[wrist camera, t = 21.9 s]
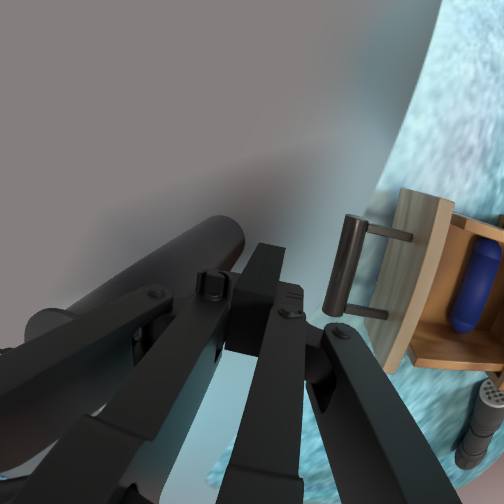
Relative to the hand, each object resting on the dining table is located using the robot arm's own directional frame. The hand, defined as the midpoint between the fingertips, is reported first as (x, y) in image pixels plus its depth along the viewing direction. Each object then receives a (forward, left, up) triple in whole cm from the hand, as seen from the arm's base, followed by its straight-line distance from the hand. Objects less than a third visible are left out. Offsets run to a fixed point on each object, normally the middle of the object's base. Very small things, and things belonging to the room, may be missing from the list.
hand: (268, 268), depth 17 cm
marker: (+17, 0, -6) cm, 18 cm away
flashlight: (+33, -19, -10) cm, 39 cm away
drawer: (+14, 0, -9) cm, 17 cm away
